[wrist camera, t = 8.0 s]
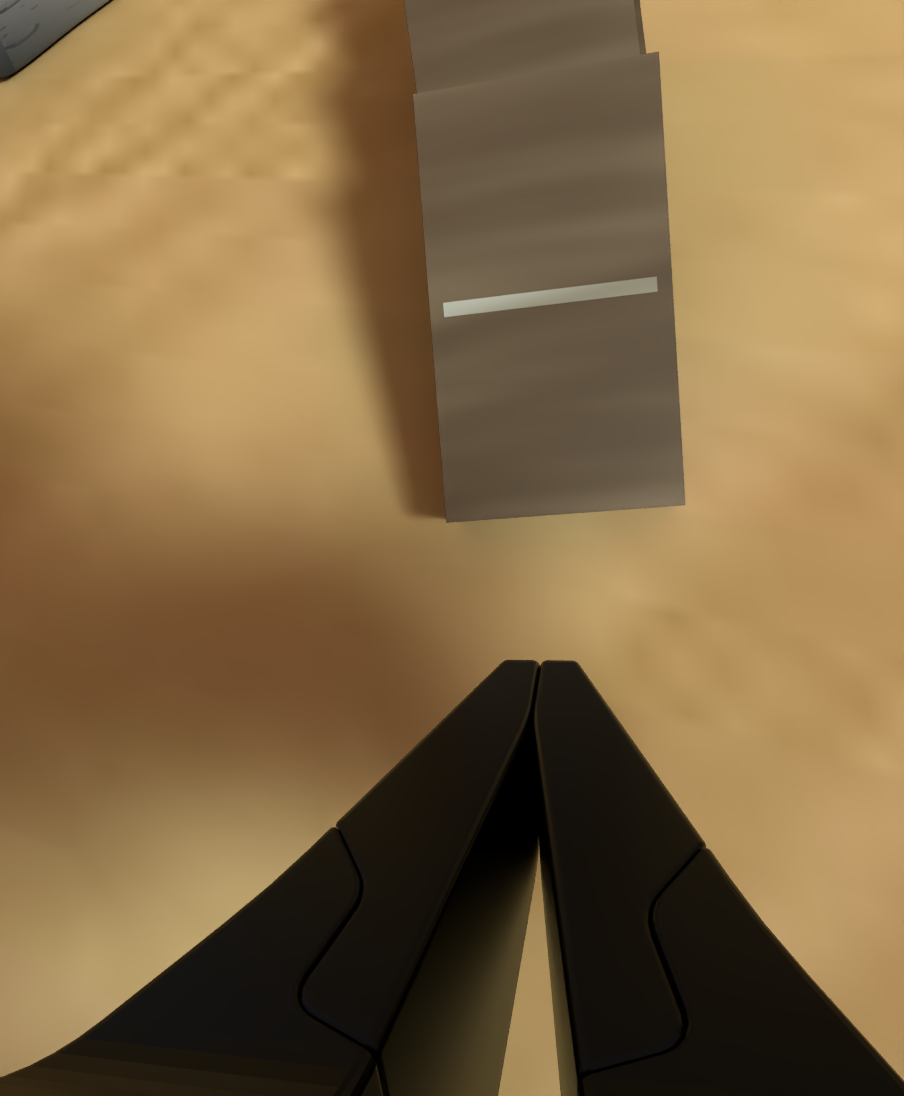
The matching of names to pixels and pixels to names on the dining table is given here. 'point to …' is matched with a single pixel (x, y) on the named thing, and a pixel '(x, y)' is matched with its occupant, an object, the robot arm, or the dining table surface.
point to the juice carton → (36, 27)
